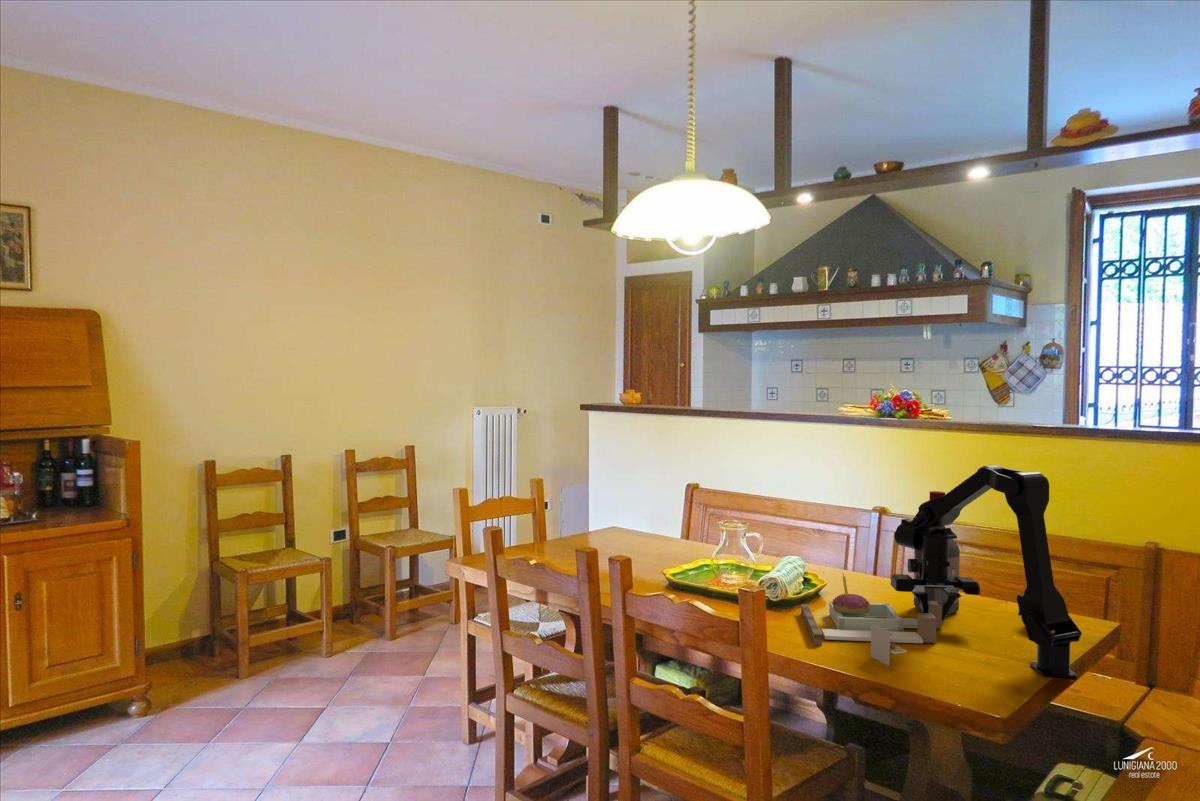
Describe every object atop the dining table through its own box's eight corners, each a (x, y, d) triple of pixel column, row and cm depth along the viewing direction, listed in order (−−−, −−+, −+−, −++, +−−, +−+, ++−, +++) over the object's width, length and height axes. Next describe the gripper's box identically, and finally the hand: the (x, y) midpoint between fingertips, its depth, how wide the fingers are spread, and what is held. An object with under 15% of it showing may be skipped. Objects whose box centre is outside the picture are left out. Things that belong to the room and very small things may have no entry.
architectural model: (883, 656, 166) (883, 622, 165) (906, 668, 159) (906, 632, 159) (870, 658, 164) (870, 623, 164) (892, 670, 158) (893, 634, 158)
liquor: (963, 611, 196) (965, 493, 195) (941, 617, 191) (942, 496, 190) (931, 603, 203) (932, 488, 202) (908, 608, 198) (910, 491, 198)
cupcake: (828, 626, 184) (829, 575, 184) (837, 616, 192) (837, 568, 191) (866, 631, 180) (866, 580, 180) (873, 621, 188) (873, 572, 187)
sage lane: (948, 635, 177) (948, 611, 177) (838, 631, 180) (839, 607, 180) (931, 617, 190) (931, 595, 190) (829, 613, 193) (829, 591, 193)
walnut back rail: (821, 645, 171) (821, 635, 171) (814, 645, 171) (814, 634, 171) (807, 614, 194) (807, 604, 194) (800, 613, 194) (801, 604, 194)
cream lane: (937, 643, 171) (937, 619, 171) (824, 639, 174) (825, 615, 174) (930, 636, 176) (930, 612, 176) (821, 632, 179) (821, 608, 179)
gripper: (964, 548, 190) (963, 611, 191) (885, 545, 192) (884, 608, 193) (981, 559, 179) (979, 626, 180) (897, 556, 181) (895, 622, 182)
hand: (933, 620), depth 184 cm, fingers open, 3 cm apart
